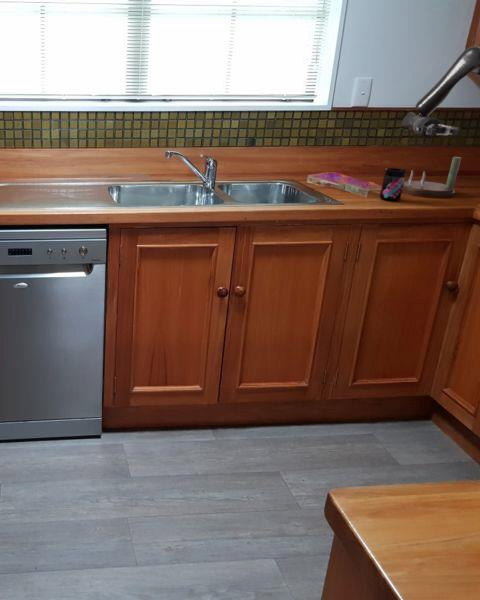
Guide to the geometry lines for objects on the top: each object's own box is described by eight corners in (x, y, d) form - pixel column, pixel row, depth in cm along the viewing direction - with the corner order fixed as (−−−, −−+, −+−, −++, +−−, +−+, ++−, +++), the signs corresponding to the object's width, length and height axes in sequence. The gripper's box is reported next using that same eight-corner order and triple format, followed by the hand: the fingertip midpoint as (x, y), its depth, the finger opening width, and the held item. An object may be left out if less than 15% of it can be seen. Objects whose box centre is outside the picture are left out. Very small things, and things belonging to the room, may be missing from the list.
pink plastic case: (393, 196, 220) (396, 181, 218) (360, 198, 215) (363, 184, 213) (334, 179, 246) (336, 166, 244) (304, 181, 241) (306, 168, 239)
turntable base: (452, 190, 230) (453, 186, 230) (455, 200, 215) (456, 196, 215) (399, 185, 237) (400, 181, 237) (399, 194, 223) (400, 190, 222)
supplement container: (375, 199, 215) (382, 169, 211) (383, 196, 219) (390, 167, 215) (395, 202, 210) (402, 172, 206) (403, 199, 215) (410, 170, 210)
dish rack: (451, 186, 229) (460, 154, 225) (454, 195, 215) (463, 161, 211) (402, 181, 236) (409, 150, 232) (401, 190, 222) (409, 156, 217)
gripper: (410, 116, 239) (429, 121, 225) (447, 117, 239) (469, 122, 224) (406, 136, 242) (424, 142, 227) (442, 137, 242) (463, 143, 227)
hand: (446, 132), depth 226 cm, fingers open, 8 cm apart
